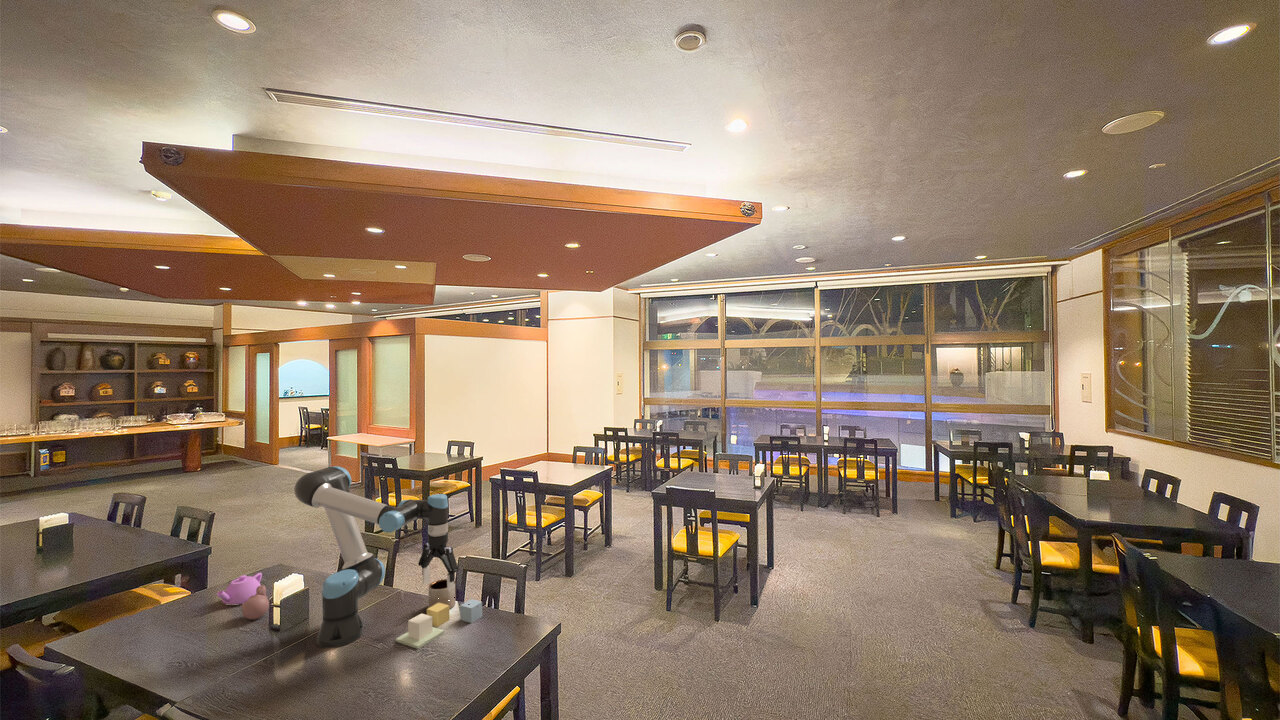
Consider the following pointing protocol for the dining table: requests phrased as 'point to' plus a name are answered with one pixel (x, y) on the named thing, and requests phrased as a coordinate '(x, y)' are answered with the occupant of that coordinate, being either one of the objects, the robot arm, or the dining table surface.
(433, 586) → the planter
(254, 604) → the figurine
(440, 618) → the ochre brick
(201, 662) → the dining table surface
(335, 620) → the robot arm
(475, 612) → the blue brick
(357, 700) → the dining table surface
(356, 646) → the dining table surface
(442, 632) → the baseplate
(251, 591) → the teapot
